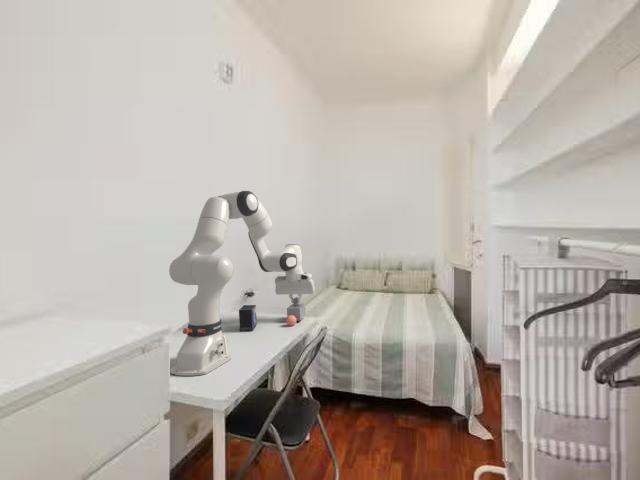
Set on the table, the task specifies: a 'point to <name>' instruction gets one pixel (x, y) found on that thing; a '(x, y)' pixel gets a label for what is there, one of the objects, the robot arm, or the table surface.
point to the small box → (247, 318)
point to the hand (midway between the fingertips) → (295, 302)
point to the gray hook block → (296, 310)
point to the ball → (291, 320)
